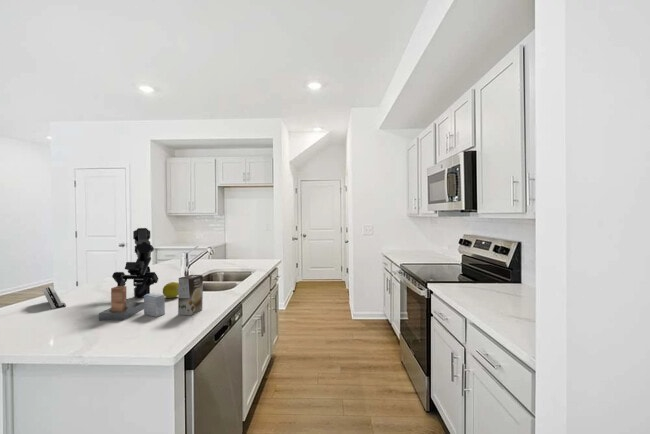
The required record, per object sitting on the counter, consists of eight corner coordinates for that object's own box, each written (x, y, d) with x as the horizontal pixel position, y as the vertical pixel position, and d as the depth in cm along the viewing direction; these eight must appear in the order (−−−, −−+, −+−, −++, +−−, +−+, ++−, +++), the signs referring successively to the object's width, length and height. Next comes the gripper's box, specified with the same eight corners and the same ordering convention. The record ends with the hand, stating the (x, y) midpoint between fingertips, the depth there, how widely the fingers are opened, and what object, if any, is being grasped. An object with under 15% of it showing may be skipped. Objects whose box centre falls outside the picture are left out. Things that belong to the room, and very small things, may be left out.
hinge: (66, 306, 148) (57, 287, 146) (54, 312, 145) (44, 293, 143) (61, 299, 160) (52, 282, 157) (49, 304, 157) (40, 286, 154)
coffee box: (190, 315, 137) (190, 278, 137) (177, 314, 138) (177, 278, 138) (203, 309, 146) (203, 274, 146) (190, 308, 147) (190, 274, 147)
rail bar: (121, 308, 146) (121, 302, 146) (144, 308, 147) (144, 302, 147) (98, 320, 130) (98, 313, 130) (124, 320, 131) (124, 312, 131)
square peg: (116, 315, 137) (116, 286, 137) (126, 314, 137) (126, 286, 137) (111, 318, 133) (111, 288, 133) (120, 318, 133) (121, 288, 133)
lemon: (167, 301, 160) (167, 285, 160) (158, 298, 164) (158, 283, 164) (186, 296, 169) (186, 281, 169) (177, 294, 173) (177, 279, 173)
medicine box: (165, 314, 139) (165, 294, 139) (155, 317, 135) (155, 297, 135) (152, 311, 142) (152, 292, 142) (143, 314, 138) (143, 294, 138)
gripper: (114, 254, 147) (98, 283, 137) (155, 254, 148) (143, 283, 137) (124, 268, 155) (110, 297, 144) (163, 268, 156) (152, 297, 145)
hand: (128, 293), depth 143 cm, fingers open, 9 cm apart
